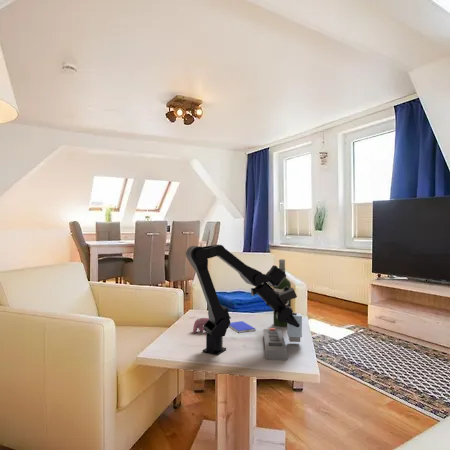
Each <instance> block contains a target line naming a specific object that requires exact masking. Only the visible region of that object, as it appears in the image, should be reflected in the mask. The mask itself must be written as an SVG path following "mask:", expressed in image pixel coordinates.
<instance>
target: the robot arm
mask: <svg viewBox="0 0 450 450" xmlns="http://www.w3.org/2000/svg"><path fill="white" fill-rule="evenodd" d="M185 256H186V258H187V260H188V262H189V264H190V265H191V267H192V268H193V270H194V272H195V273H196V276H197V278H198V281H199V285H200V287H201V290H202V293H203V295H204V298H205V302H206V304H207V316H208V318H209V320H208V321H207V322H206V323H205V324H204V325H203V328H204V332H206V335H205V340H206V341H205V348H204V349H202V352H203V353H208V354H211V355H215V356H216V355H221V353H223V352H224V351H226V350H227V347H225V346H224V345H223V341H224V340H223V339H224V338H223V337H225V336H226V334H227V330H228V329H229V328H230V327H229V325H230V323H231V319H232V317H231V316H230V314H229V309H228V307H226V306H224V305H222V304H221V303H220V301H219V298H218V294H217V292H216V289H215V285H214V283H213V280H212V277H211V274H210V272H209V259H212V258H215V257H217V258H219V259H220V260H221V261H223V262H224V263H225V264H227V266H230V268H231V269H233V270H235V271H236V272H237V273H238V275H239V276H240V277H241V279H242V280H243V281H244V282H245V284H248V285H250V286H253V287H252V288H250V296H255V295H258V296H259V297H260V298H261V299H262V300H263V301H264V302H265V305H266V306H268V307H269V308H271V310H272V311H273V313H274V312H275V313H277V320H278V321H279V322H280V323H282V322H285V323H288V324H291V325H293V326H295V327H299V326H300V325H299V323H298V322H297V321H296V319H295V318H294V316H293V315H292V313H294V310H293V308H292V306H291V307H290V304H288V305H286V304H287V303H288V301H289V300H291V301H292V300H293V299H296V298H297V297H298V295H297V293H296V291H295V289H294V288H293V287H291V288H289V287H287V286H286V287H284V291H283V292H282V293H280V294H279V293H278V292H276V291H275V290H274V286H275V287H278V285H279V284H280V283H281V282H282V281H283V280H284V279H285V278H287V274H286V272H285V273H284V272H283V271H282V270H281V269H279V266H277V265H272V266H271V267H270V269H269V270H268V271H267V272H266V274H265V273H262V271H259V270H257V269H256V268H253V267H251V266H249V265H247V264H246V263H245V262H243V261H242V260H241V259H239V258H238V257H237V256H236V255H234V254H233V253H232V252H230V251H229V250H228V249H227V248H225V247H224V245H222V244H218V243H217V244H212V245H207V246H205V245H204V246H198V245H190V246H189V247H188V248H187V249H186V252H185ZM223 346H224V347H223Z"/></svg>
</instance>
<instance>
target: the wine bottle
mask: <svg viewBox="0 0 450 450" xmlns="http://www.w3.org/2000/svg"><path fill="white" fill-rule="evenodd" d="M278 268H279V269H281V270H282V271H283V272H284V273H285V274H286V259H283V258H281V259H279V260H278ZM286 286H287V287H289V288H292V287H291V286H292V283H291V281H290V280H289V279H288V278H287V277H286V278H285V279H284V280H283V281H282V282H281V283H280V284H279V285H278V287H275V286H274V287H273V289H274V290H275V291H276V292H278V293H279V294H280V293H282V292H283V291H284V287H286ZM288 304H290V307H291V308H292V299H291V300H289V301H288V303H287V304H286V305H288ZM273 325H274V326H276V327H281V328H282V327H283V328H284V327H286V328H287V323H285V322H282V323H280V322H279V321H278V320H277V313H275V312H274V311H273Z"/></svg>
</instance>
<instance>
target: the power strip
mask: <svg viewBox="0 0 450 450" xmlns="http://www.w3.org/2000/svg"><path fill="white" fill-rule="evenodd" d="M263 341H264V342H263V343H264V349H265V359H266V360H279V361H281V360H283V361H287V360H288V349H287V345H286V342H285V339H284V336H283V332H282V330H281V328H280V329H276V328H275V327H269V328H263Z"/></svg>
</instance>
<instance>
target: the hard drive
mask: <svg viewBox="0 0 450 450" xmlns="http://www.w3.org/2000/svg"><path fill="white" fill-rule="evenodd" d="M228 328H231V329H232V330H234V331H235V332H237V333H238V332H239V333H238V334H241V332H242V333H248V332H254V331H257V330H256V328H255V327H253V326H252V325H250V324H248V323H247V322H245V321H243V320H241V321H233V322H232V321H230V325H229V327H228Z"/></svg>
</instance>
